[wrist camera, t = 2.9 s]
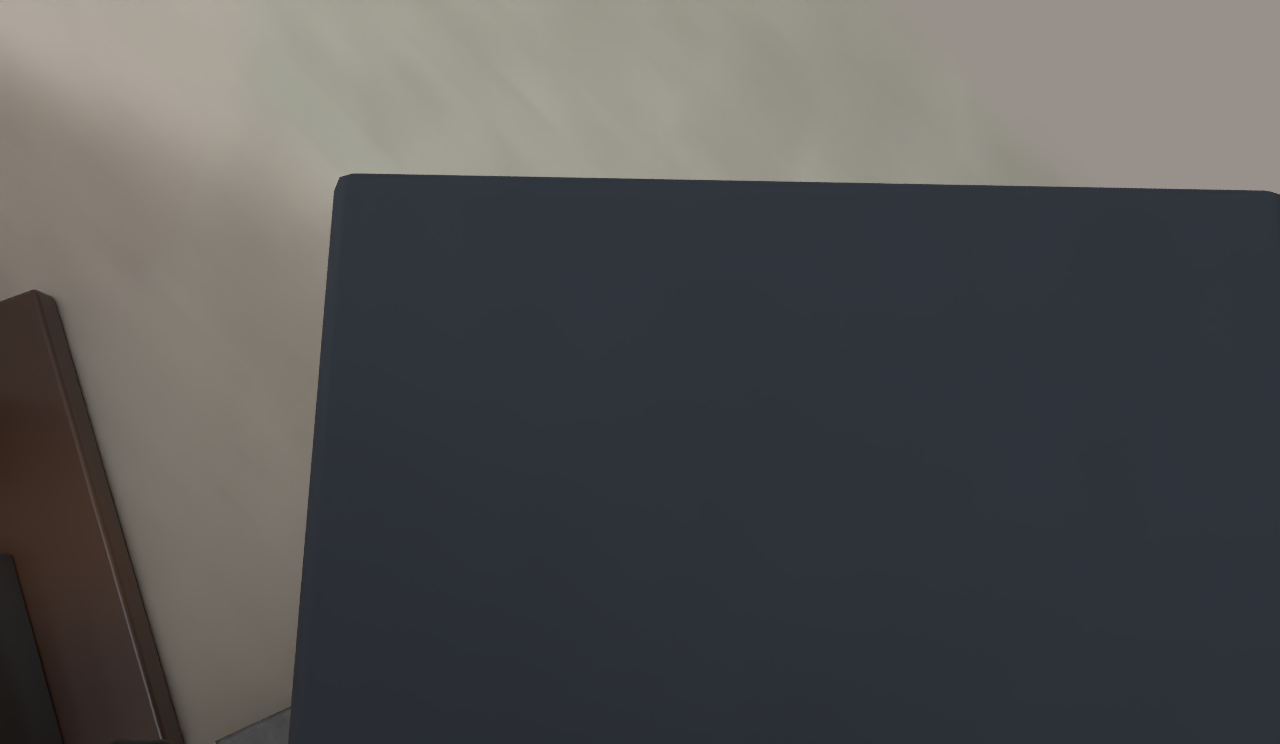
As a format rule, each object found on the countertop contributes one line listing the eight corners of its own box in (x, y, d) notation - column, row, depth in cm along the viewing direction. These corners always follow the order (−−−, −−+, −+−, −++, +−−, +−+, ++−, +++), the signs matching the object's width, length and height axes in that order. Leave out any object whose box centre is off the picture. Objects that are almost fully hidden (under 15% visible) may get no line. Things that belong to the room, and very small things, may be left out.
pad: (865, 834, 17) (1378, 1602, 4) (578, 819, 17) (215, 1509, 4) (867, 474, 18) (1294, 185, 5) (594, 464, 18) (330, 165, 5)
